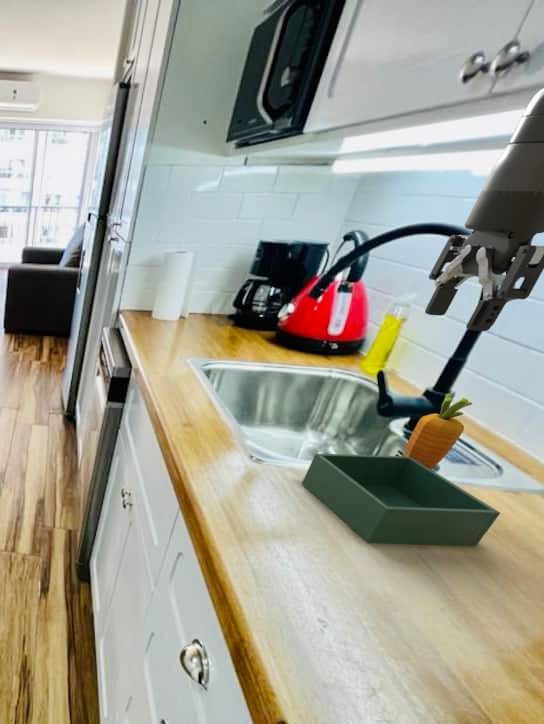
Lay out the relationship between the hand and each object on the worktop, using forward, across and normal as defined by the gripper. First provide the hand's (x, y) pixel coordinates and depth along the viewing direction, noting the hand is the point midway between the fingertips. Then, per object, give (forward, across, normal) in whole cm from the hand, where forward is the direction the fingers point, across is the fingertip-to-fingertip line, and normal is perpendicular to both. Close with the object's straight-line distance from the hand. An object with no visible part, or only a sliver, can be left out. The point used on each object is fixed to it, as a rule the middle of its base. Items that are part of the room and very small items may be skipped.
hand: (453, 321), depth 66 cm
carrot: (+26, 0, -5) cm, 26 cm away
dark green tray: (+25, -11, +4) cm, 28 cm away
